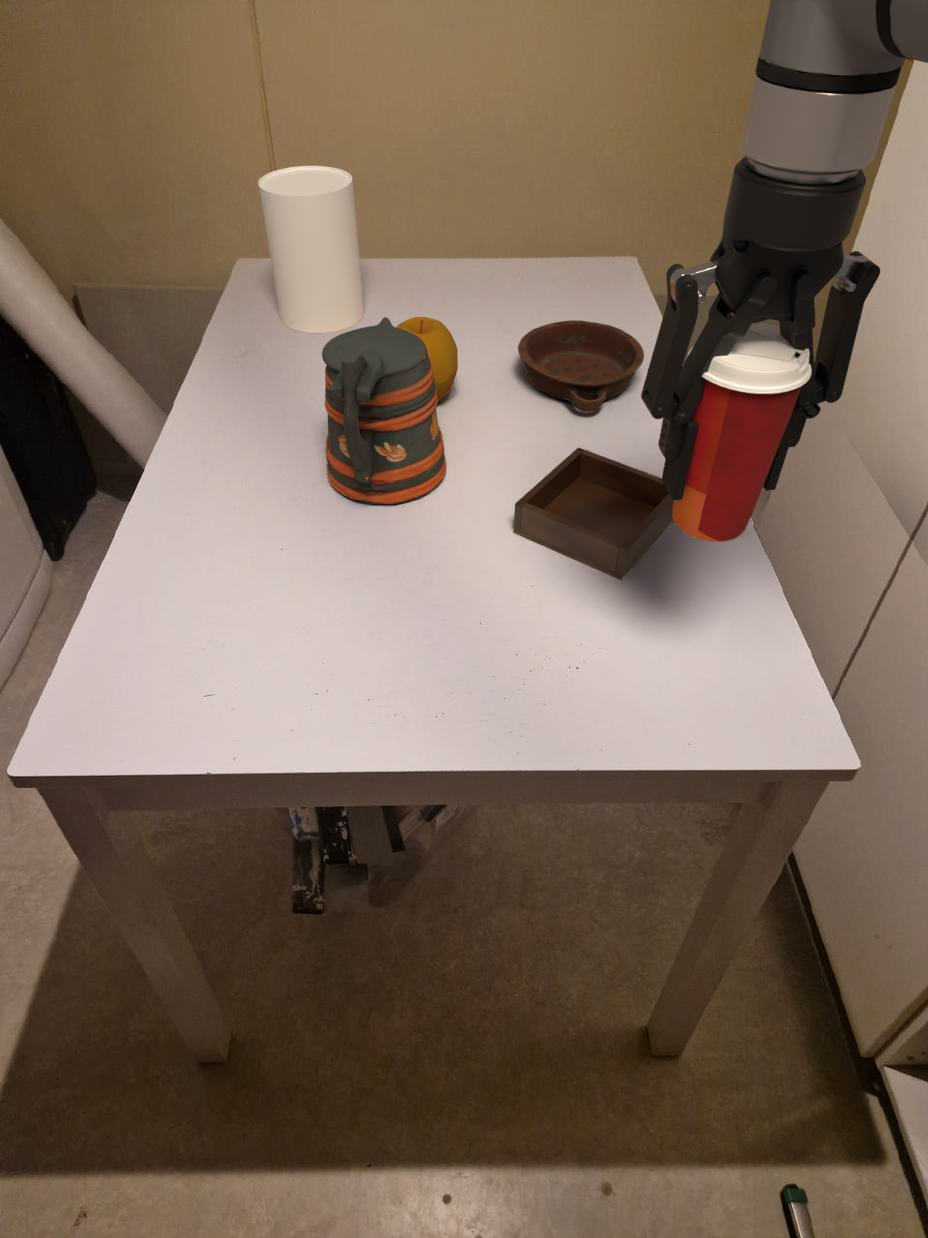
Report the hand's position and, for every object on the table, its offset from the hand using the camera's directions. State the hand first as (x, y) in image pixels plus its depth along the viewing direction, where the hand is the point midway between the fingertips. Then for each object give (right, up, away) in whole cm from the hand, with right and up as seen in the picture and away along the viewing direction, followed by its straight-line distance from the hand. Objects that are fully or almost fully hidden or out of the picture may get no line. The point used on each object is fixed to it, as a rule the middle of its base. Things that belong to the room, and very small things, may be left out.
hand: (717, 484), depth 65 cm
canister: (-43, +39, +69) cm, 90 cm away
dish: (-4, +23, +54) cm, 59 cm away
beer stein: (-30, +6, +36) cm, 47 cm away
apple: (-26, +20, +50) cm, 59 cm away
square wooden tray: (-5, 0, +30) cm, 30 cm away
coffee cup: (0, -2, +2) cm, 4 cm away
